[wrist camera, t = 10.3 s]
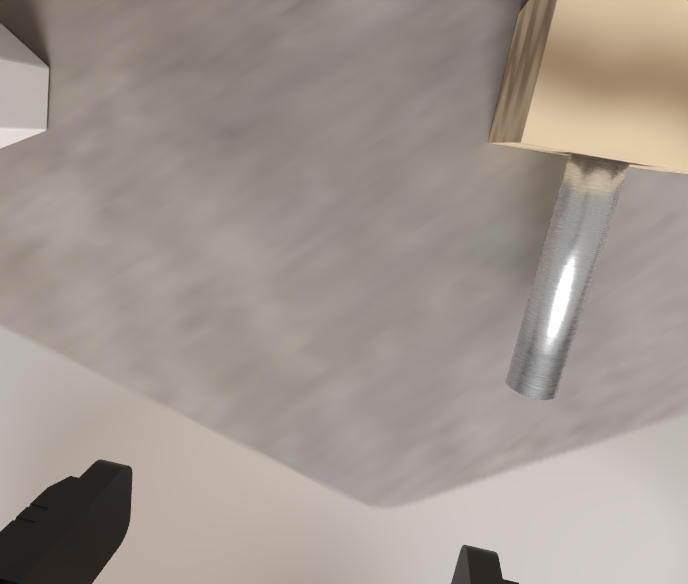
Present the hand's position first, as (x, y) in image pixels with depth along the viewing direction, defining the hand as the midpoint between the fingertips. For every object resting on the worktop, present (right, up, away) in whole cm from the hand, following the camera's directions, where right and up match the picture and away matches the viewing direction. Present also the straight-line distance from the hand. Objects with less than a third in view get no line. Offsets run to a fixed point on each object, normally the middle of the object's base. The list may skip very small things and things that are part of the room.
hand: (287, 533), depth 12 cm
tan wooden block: (+17, +19, +22) cm, 33 cm away
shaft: (+15, +9, +18) cm, 25 cm away
